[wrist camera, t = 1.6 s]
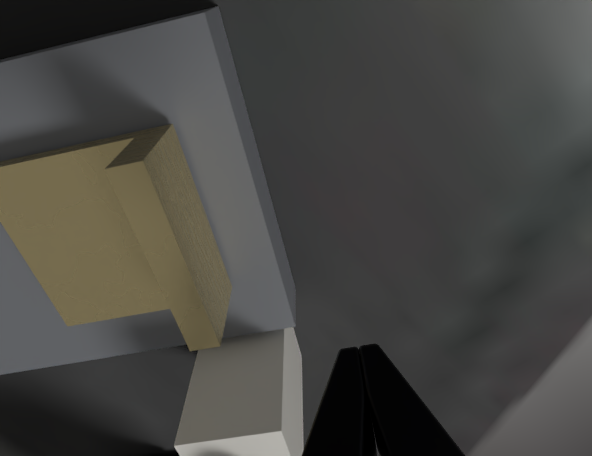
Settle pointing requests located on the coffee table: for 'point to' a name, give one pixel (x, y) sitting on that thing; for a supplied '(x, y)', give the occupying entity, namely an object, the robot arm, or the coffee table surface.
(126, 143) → the tan piece
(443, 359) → the coffee table surface
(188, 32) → the socket block
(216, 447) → the plug
